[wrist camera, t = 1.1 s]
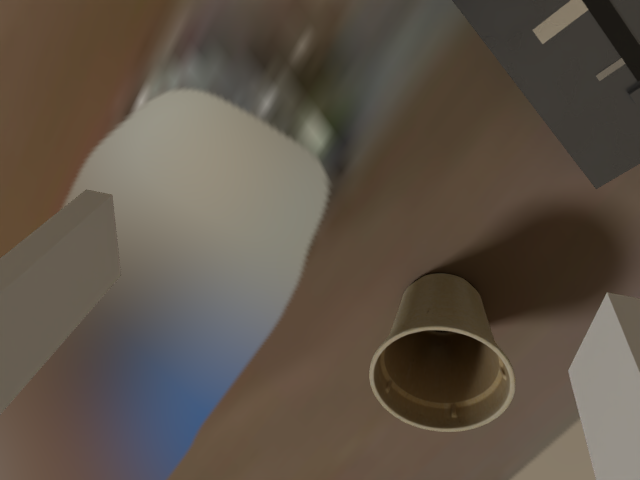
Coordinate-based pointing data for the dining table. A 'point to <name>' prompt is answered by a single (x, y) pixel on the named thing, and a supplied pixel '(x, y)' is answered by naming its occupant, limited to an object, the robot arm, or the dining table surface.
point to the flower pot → (442, 359)
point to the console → (573, 72)
